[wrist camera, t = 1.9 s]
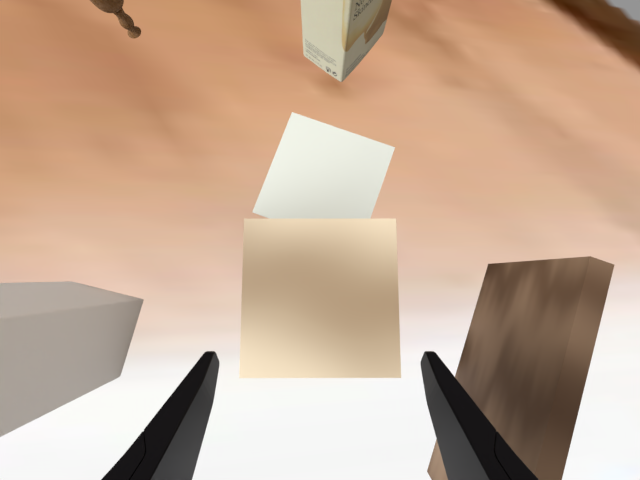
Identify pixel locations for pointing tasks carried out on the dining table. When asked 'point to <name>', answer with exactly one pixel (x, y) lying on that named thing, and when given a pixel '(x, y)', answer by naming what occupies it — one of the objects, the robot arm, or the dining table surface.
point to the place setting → (119, 15)
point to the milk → (59, 345)
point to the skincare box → (341, 32)
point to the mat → (323, 173)
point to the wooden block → (320, 299)
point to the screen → (533, 355)
